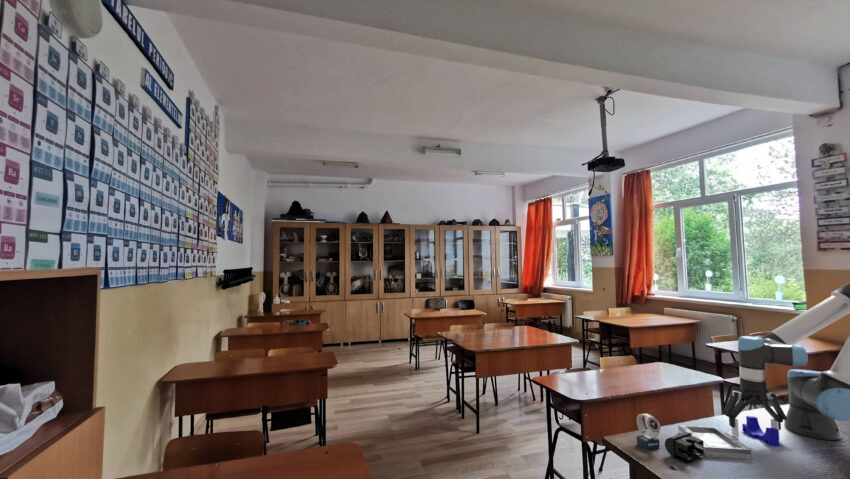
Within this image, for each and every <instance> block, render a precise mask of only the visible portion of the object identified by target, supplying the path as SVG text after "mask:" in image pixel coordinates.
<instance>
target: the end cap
mask: <svg viewBox="0 0 850 479" xmlns="http://www.w3.org/2000/svg"><path fill="white" fill-rule="evenodd" d="M695 443H697V444H700V445H702V446H704V444H703V440H700V439H698V438H695V437H693V436H692V434H691V433H688V432H687V433H683V434H676V435H674V436H670V437H667V438H666V439H665V441H664V447H665V450H666V452H667V453H668V454H669V455H670V456H671V457H672V458H673V459H675V460H676V461H679V462H681V463H682V464H685V465H690V464H694V463H695V462H699V461H702V460H704V456H705V455H704V449H701V448H699V447H697V446H695Z"/></svg>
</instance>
